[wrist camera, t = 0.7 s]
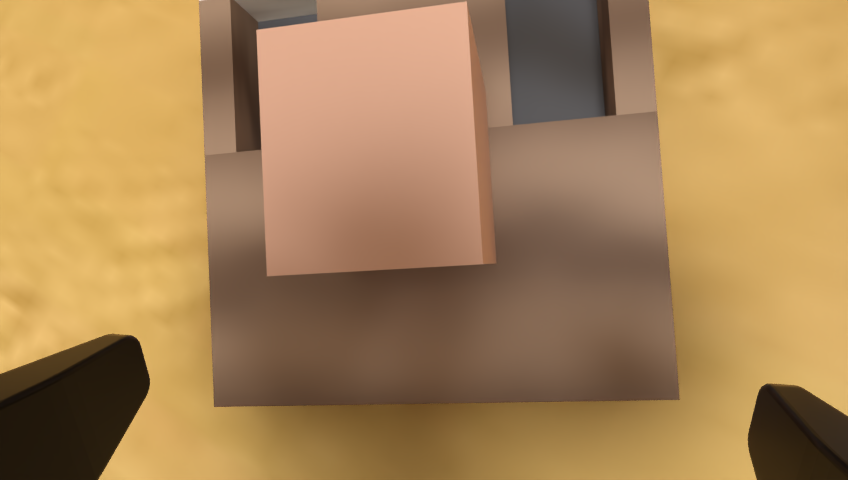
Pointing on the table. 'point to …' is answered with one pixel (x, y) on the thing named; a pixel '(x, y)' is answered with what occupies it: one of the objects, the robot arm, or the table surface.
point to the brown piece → (513, 224)
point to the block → (375, 143)
